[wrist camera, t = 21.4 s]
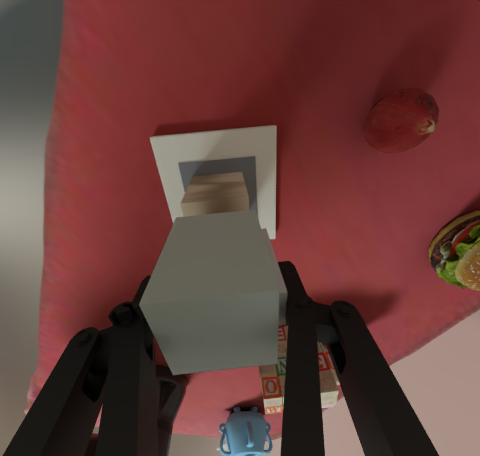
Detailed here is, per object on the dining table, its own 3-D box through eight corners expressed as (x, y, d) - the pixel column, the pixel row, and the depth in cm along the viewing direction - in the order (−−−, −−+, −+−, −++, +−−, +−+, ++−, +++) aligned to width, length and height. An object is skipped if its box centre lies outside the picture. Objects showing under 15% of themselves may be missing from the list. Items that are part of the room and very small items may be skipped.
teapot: (251, 397, 60) (255, 452, 51) (274, 415, 66) (282, 467, 56) (215, 409, 63) (212, 463, 54) (241, 425, 69) (242, 477, 59)
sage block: (191, 276, 19) (173, 375, 12) (176, 217, 16) (138, 304, 9) (258, 269, 19) (277, 363, 12) (255, 209, 16) (279, 289, 9)
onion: (370, 82, 23) (434, 72, 16) (411, 102, 24) (487, 100, 17) (341, 137, 25) (385, 149, 18) (379, 152, 27) (434, 169, 20)
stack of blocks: (355, 316, 44) (397, 383, 33) (350, 334, 47) (387, 400, 36) (253, 329, 44) (263, 401, 33) (255, 346, 47) (265, 416, 36)
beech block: (201, 220, 28) (193, 257, 21) (192, 176, 25) (180, 203, 18) (245, 215, 28) (252, 251, 21) (241, 171, 25) (248, 196, 18)
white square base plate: (181, 243, 32) (179, 249, 30) (152, 136, 24) (148, 137, 23) (273, 234, 32) (275, 239, 31) (274, 125, 24) (276, 125, 23)
